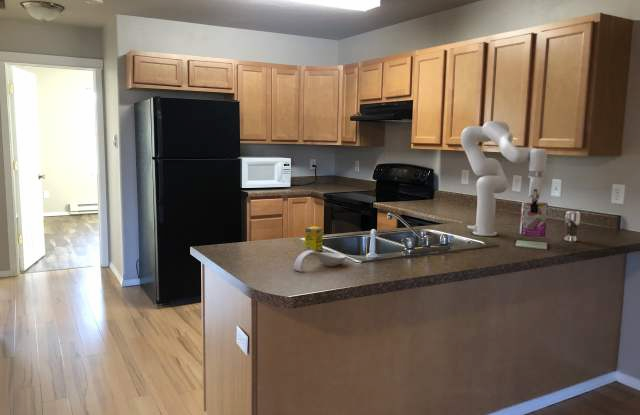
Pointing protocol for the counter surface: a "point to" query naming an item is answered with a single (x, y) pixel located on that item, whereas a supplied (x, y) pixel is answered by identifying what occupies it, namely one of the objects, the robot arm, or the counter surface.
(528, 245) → the mat
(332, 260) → the spoon rest
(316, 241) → the supplement box
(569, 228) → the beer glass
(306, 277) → the counter surface
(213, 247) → the counter surface
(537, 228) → the candy bar box
